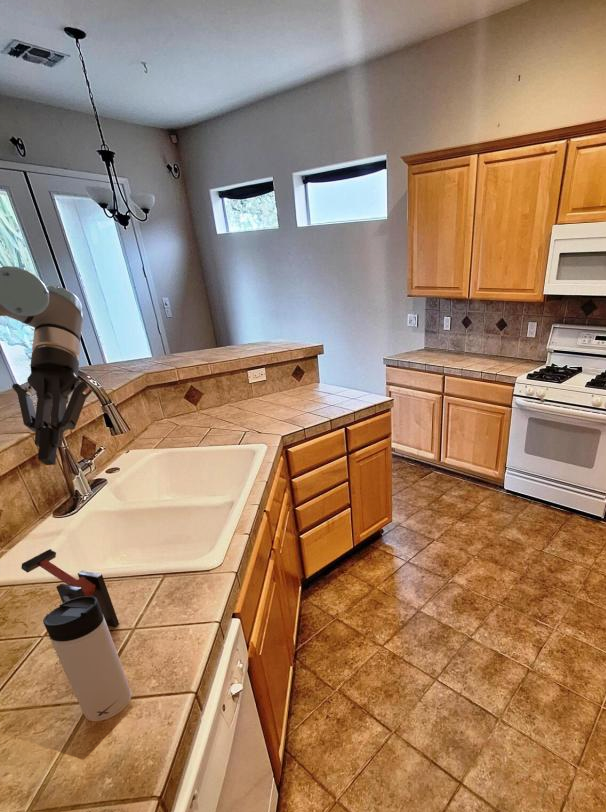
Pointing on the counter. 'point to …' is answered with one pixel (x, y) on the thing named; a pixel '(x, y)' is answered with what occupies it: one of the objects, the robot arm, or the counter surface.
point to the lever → (57, 571)
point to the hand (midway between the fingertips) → (46, 461)
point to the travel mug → (88, 657)
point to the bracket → (99, 593)
